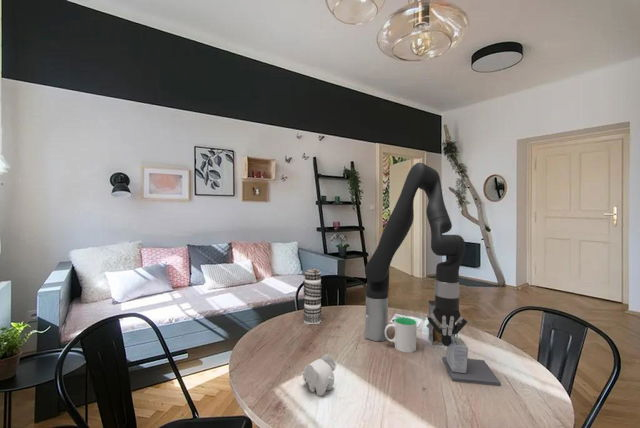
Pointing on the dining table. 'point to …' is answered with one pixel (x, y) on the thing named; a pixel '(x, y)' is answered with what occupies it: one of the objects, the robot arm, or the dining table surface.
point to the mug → (404, 334)
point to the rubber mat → (474, 373)
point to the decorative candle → (312, 296)
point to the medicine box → (457, 355)
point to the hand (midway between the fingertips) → (446, 345)
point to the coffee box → (433, 334)
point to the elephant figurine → (320, 374)
